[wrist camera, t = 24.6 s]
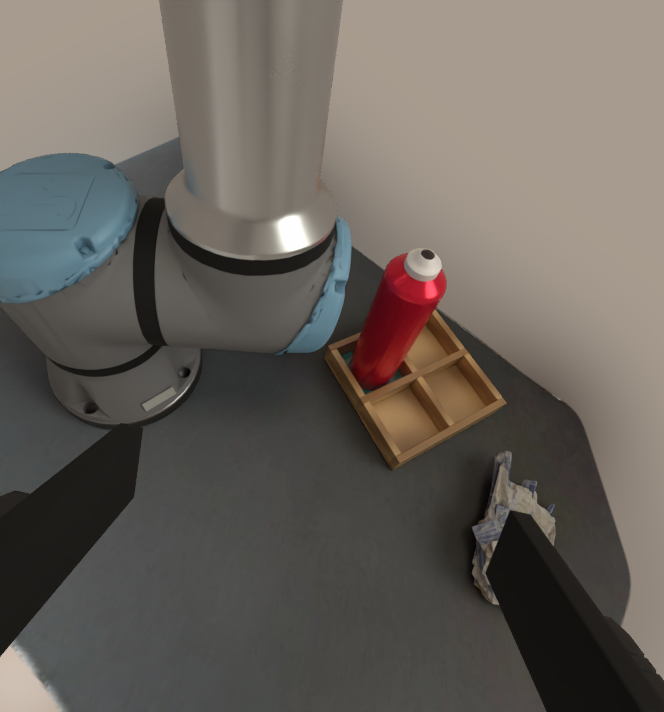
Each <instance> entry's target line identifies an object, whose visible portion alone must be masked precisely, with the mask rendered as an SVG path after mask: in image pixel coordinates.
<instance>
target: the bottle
mask: <svg viewBox="0 0 664 712" xmlns="http://www.w3.org/2000/svg"><path fill="white" fill-rule="evenodd" d="M441 267H442V264H441V261H440V259H439V257H438V256H437V255H436V254H435V253H434V252H433V251H432V250H430V249H423V248H417V249H414V250H411V251H410V252H409V253H406V254H402V255H399V256H397V257H395V258H394V259H392V260H391V261H390V262H389V264H388V265H387V267H386V269H385V272H384V274H383V277H382V279H381V282H380V284H379V287H378V290H377V292H376V295H375V297H374V300H373V303H372V305H371V308H370V310H369V313H368V315H367V318H366V321H365V323H364V326H363V328H362V331H361V334H360V336H359V339H358V341H357V344H356V346H355V349H354V352H353V354H352V357H351V359H350V362H349V366H348V368H349V369H350V371H351V373H352V374H353V376H354V377H355V379H356V381H357V382H358V384H359V386H360V387H361V388H363V389H365V390H369V391H375V390H377V389H379V388H381V387H383V386H386V385H388V384H389V383H390V381H391V380H392V378H393V376H394V375H395V373H396V371H397V370H398V368H399V367H400V365H401V363H402V362H403V360H404V358H405V357H406V355H407V354H408V352H409V350H410V349H411V347H412V345H413V344H414V342H415V341H416V339H417V337H418V336H419V334H420V332H421V331H422V329H423V328H424V326H425V324H426V323H427V321H428V319H429V318H430V316H431V315H432V313H433V311H434V310H435V308H436V307H437V305H438V303H439V302H440V300H441V298H442V297H443V295H444V293H445V290H446V277H445V274H444V272H443V270H442V269H441Z"/></svg>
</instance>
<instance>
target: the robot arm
mask: <svg viewBox="0 0 664 712" xmlns="http://www.w3.org/2000/svg"><path fill="white" fill-rule="evenodd" d="M159 3H160V9H161V16H162V23H163V30H164V37H165V43H166V50H167V57H168V63H169V71H170V77H171V84H172V91H173V97H174V105H175V111H176V118H177V125H178V132H179V139H180V146H181V152H182V159H183V166H184V169H183V170H182V171H181V172H180V173H178V174H177V175H176V176H175V177H174V178H173V179H172V181H171V182H170V184H169V185H168V188H167V190H166V193H165V198H156V197H147V196H139V195H138V191H137V190H136V187H135V186H134V184H133V182H132V181H131V180H130V179H129V178H128V176H127V175H126V174H125V173H124V172H123V171H122V170H121V169H119V168H116V167H115V165H114V164H113V163H112V162H110V161H108V160H105V159H103V158H100V157H96V156H92V155H87V154H79V153H60V154H50V155H44V156H40V157H36V158H32V159H28V160H25V161H22V162H19V163H17V164H14V165H13V166H11V167H9V168H8V169H5V170H3V171H1V172H0V309H1V310H2V311H3V312H4V313H5V314H6V315H7V316H8V317H9V318H10V319H11V320H12V321H13V322H14V323H15V324H16V325H17V326H18V327H19V328H20V329H21V330H22V332H23V333H24V334H25V335H26V336H27V337H28V338H29V339H30V340H31V341H32V342H33V343H34V344H35V345H36V346H37V347H38V348H39V349H40V350H41V351H42V352H43V353H44V354H45V357H46V364H47V370H48V378H49V383H50V386H51V389H52V391H53V393H54V395H55V396H56V398H57V399H58V400H59V401H60V403H61V404H62V405H63V406H64V407H65V408H66V409H67V410H68V411H70V412H71V413H72V414H73V415H74V416H76V417H77V418H79V419H80V420H82V421H84V422H86V423H88V424H91V425H93V426H97V427H101V428H107V429H112V430H111V431H110V432H109V433H107V434H106V435H105V436H104V437H102V438H101V439H100V440H98V441H97V442H96V443H95V444H93V445H92V446H91V447H90V448H88V449H87V450H86V451H84V452H83V453H82V454H81V455H79V456H78V457H77V458H76V459H74V460H73V461H72V462H70V463H69V464H68V465H67V466H65V467H64V468H63V469H62V470H60V471H59V472H58V473H56V474H55V475H54V476H53V477H51V478H50V479H49V480H48V481H46V482H45V483H44V484H43V485H41V486H40V487H39V488H37V489H36V490H35V491H34V492H32V493H31V494H28V493H24V492H19V491H12V492H10V493H8V494H5V495H3V496H0V656H1V655H2V654H3V653H4V651H5V650H6V649H7V648H8V647H9V646H10V644H11V643H12V642H13V641H14V640H15V638H16V637H17V636H18V635H19V634H20V632H21V631H22V630H23V629H24V628H25V626H26V625H27V624H28V623H29V622H30V621H31V619H32V618H33V617H34V616H35V615H36V613H37V612H38V611H39V610H40V609H41V607H42V606H43V605H44V604H45V603H46V601H47V600H48V599H49V598H50V597H51V595H52V594H53V593H54V592H55V591H56V589H57V588H58V587H59V586H60V585H61V584H62V582H63V581H64V580H65V579H66V578H67V576H68V575H69V574H70V573H71V572H72V570H73V569H74V568H75V567H76V566H77V564H78V563H79V562H80V561H81V560H82V558H83V557H84V556H85V555H86V554H87V552H88V551H89V550H90V549H91V548H92V547H93V545H94V544H95V543H96V542H97V541H98V539H99V538H100V537H101V536H102V535H103V533H104V532H105V531H106V530H107V529H108V527H109V526H110V525H111V524H112V523H113V521H114V520H115V519H116V518H117V517H118V515H119V514H120V513H121V512H122V511H123V509H124V508H125V507H126V506H127V505H128V504H129V502H130V501H131V500H132V499H133V498H134V493H135V485H136V478H137V470H138V462H139V455H140V447H141V439H142V432H143V428H141V427H140V426H144V425H147V424H150V423H153V422H155V421H157V420H159V419H161V418H163V417H165V416H167V415H168V414H170V413H171V412H173V411H174V410H175V409H177V408H178V407H179V406H180V405H181V404H182V403H183V402H184V401H185V400H186V399H187V398H188V397H189V395H190V394H191V392H192V391H193V389H194V388H195V386H196V384H197V382H198V380H199V377H200V373H201V369H202V352H201V349H215V350H228V351H242V352H256V353H270V354H273V355H281V354H285V353H310V352H314V351H316V350H318V349H320V348H321V347H322V346H323V345H324V344H325V343H326V342H327V341H328V340H329V338H330V336H331V335H332V333H333V331H334V329H335V326H336V324H337V321H338V318H339V316H340V313H341V309H342V306H343V302H344V297H345V289H344V287H345V285H346V282H347V280H348V276H349V271H350V262H351V235H350V229H349V226H348V224H347V223H346V221H345V220H344V219H343V218H341V217H338V216H337V207H336V202H335V199H334V197H333V195H332V193H331V191H330V190H329V189H328V187H327V186H326V185H325V184H324V183H323V182H322V181H321V180H320V173H321V164H322V157H323V149H324V142H325V134H326V126H327V119H328V111H329V102H330V96H331V88H332V80H333V72H334V65H335V57H336V49H337V42H338V34H339V26H340V19H341V11H342V3H343V0H159ZM485 574H486V576H487V578H488V581H489V583H490V585H491V587H492V590H493V592H494V594H495V596H496V599H497V601H498V603H499V605H500V608H501V610H502V612H503V614H504V617H505V619H506V621H507V623H508V626H509V628H510V630H511V632H512V635H513V637H514V639H515V641H516V644H517V646H518V648H519V650H520V653H521V655H522V657H523V659H524V662H525V664H526V666H527V668H528V671H529V673H530V675H531V677H532V680H533V682H534V684H535V686H536V689H537V691H538V693H539V695H540V698H541V700H542V702H543V704H544V707H545V709H546V711H547V712H664V680H663V679H662V678H661V676H660V675H658V674H656V670H655V668H654V667H653V666H652V664H651V663H650V662H649V660H648V659H647V658H644V654H643V652H642V651H641V650H640V648H639V647H638V646H637V644H636V643H635V642H634V640H633V639H632V638H631V636H630V635H629V634H628V633H627V632H626V631H625V630H624V629H622V628H621V627H620V626H619V625H618V624H617V623H616V622H615V621H614V620H613V619H612V618H611V617H606V616H603V615H602V613H601V612H600V610H599V609H598V608H597V606H596V605H595V603H594V602H593V601H592V599H591V598H590V597H589V595H588V594H587V592H586V591H585V590H584V588H583V587H582V585H581V584H580V583H579V581H578V580H577V578H576V577H575V576H574V574H573V573H572V571H571V570H570V569H569V567H568V566H567V564H566V563H565V562H564V560H563V559H562V557H561V556H560V555H559V553H558V552H557V550H556V549H555V548H554V546H553V545H552V543H551V542H550V541H549V539H548V538H547V536H546V535H545V534H544V532H543V531H542V529H541V528H540V527H539V525H538V524H537V522H536V521H535V520H534V518H533V517H532V516H531V514H527V513H522V512H518V511H513V510H510V511H509V514H508V516H507V519H506V521H505V524H504V526H503V529H502V532H501V534H500V537H499V539H498V542H497V544H496V547H495V549H494V552H493V554H492V557H491V560H490V562H489V565H488V567H487V570H486V572H485Z"/></svg>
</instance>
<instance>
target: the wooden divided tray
mask: <svg viewBox="0 0 664 712" xmlns="http://www.w3.org/2000/svg"><path fill="white" fill-rule="evenodd" d="M360 334H361V332H360V333H358V334H355V335H353V336H350V337H348V338H345V339H343V340H340V341H338V342H335V343H333V344H331V345H328V347H327V350H326V354H325V358H324V359H325V360H326V362H327V364H328V365H329V367H330V369H331V370H332V372H333V374H334V375H335V377H336V379H337V380H338V382H339V384H340V385H341V387H342V389H343V390H344V392H345V394H346V395H347V397H348V399H349V400H350V402H351V404H352V405H353V407H354V409H355V410H356V412H357V414H358V415H359V417H360V419H361V420H362V422H363V424H364V425H365V427H366V429H367V430H368V432H369V434H370V435H371V437H372V439H373V440H374V442H375V444H376V445H377V447H378V449H379V450H380V452H381V454H382V455H383V457H384V459H385V460H386V462H387V464H388V465H389V467H390V469H391V470H394V469H396V468H398V467H399V466H401V465H403V464H405V463H406V462H408V461H410V460H412V459H413V458H415V457H417V456H419V455H421V454H422V453H424V452H426V451H428V450H429V449H431V448H433V447H435V446H436V445H438V444H440V443H442V442H444V441H445V440H447V439H449V438H451V437H452V436H454V435H456V434H458V433H459V432H461V431H463V430H465V429H467V428H468V427H470V426H472V425H474V424H475V423H477V422H479V421H481V420H482V419H484V418H486V417H488V416H490V415H491V414H493V413H495V412H496V411H497V410H499V409H500V408H501V407H502V406H504V405H505V404H506V401H505V400H504V399H503V398H502V396H501V395H500V394H499V392H498V391H497V390H496V388H495V387H494V386H493V384H492V383H491V382H490V381H489V379H488V378H487V377H486V375H485V374H484V373H483V371H482V370H481V369H480V367H479V366H478V365H477V364H476V362H475V361H474V360H473V358H472V357H471V356H470V354H469V353H468V352H467V350H466V349H465V348H464V347H463V345H462V344H461V343H460V341H459V340H458V339H457V337H456V336H455V335H454V333H453V332H452V331H451V330H450V328H449V327H448V326H447V324H446V323H445V322H444V320H443V319H442V318H441V316H440V315H439V314H438V312H437V311H436V310H434V311H433V313H432V315H431V316H430V318H429V319H428V321H427V323H426V324H425V326H424V328H423V329H422V331H421V332H420V334H419V336H418V337H417V339H416V341H415V342H414V344H413V345H412V347H411V349H410V350H409V352H408V354H407V355H406V357H405V358H404V360H403V362H402V363H401V365H400V367H399V368H398V370H397V371H396V373H395V375H394V376H393V378H392V380H391V381H390V383H389V384H388V385H386V386H383V387H381V388H379V389H377V390H375V391H369V390H365V389H363V388H361V387H360V386H359V384H358V382H357V381H356V379H355V377H354V376H353V374H352V373H351V371H350V369H349V368H348V366H349V362H350V359H351V357H352V354H353V352H354V349H355V346H356V344H357V341H358V339H359V336H360Z"/></svg>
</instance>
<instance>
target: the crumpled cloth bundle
mask: <svg viewBox="0 0 664 712" xmlns="http://www.w3.org/2000/svg"><path fill="white" fill-rule="evenodd" d="M511 459H512V454H511V452H510V451H505V452H502V453H501V452H500V453H499V454H495V457H494V464H493V479H492V487H491V492H490V496H489V500H488V504H487V508H486V512H485V516H484V520H481V521H479V522H478V525H476V526H473V527H472V530H473V532H474V535H475V537H476V539H477V541H476V544H477V547H476V551H475V554H474V558H473V561H472V563H473V565H474V568H473V571H472V575H473V577H474V578H475V579H474V585H475V586H477V587H478V588H479V589H480V590H481V591H482V594H483V596H484V597H485V599H486V600H488V601H489V602H491V603H493V604H496V605H499V603H498V601H497V599H496V596H495V594H494V592H493V590H492V587H491V585H490V583H489V581H488V578H487V576H486V574H485V572H486V570H487V567H488V565H489V562H490V560H491V557H492V554H493V552H494V549H495V547H496V544H497V542H498V539H499V537H500V534H501V532H502V529H503V526H504V524H505V521H506V519H507V516H508V514H509V511H510V510H513V511H518V512H522V513H527V514H531V516H532V517H533V518H534V520H535V521H536V522H537V524H538V525H539V527H540V528H541V529H542V531H543V532H544V534H545V535H546V536H547V538H548V539H549V541H550V542H551V543H552V545H553V546H554V538H555V525H554V522H555V520H554V519H555V518H553V517H551V516H550V513H551V512H552V510H553V508H554V506H555V505H554V504H551V505H550V506H549V507H548V508H547V510H546V509H544V508H542V507H541V506H539V505H538V504H537V494H536V492H535V488H536V485H537V482H536V481H529V480H526V479H525V480H524V481H523V484H522V486H519V485H516V484H515V483H512V482H511V481H510V470H511ZM499 606H500V605H499Z"/></svg>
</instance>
